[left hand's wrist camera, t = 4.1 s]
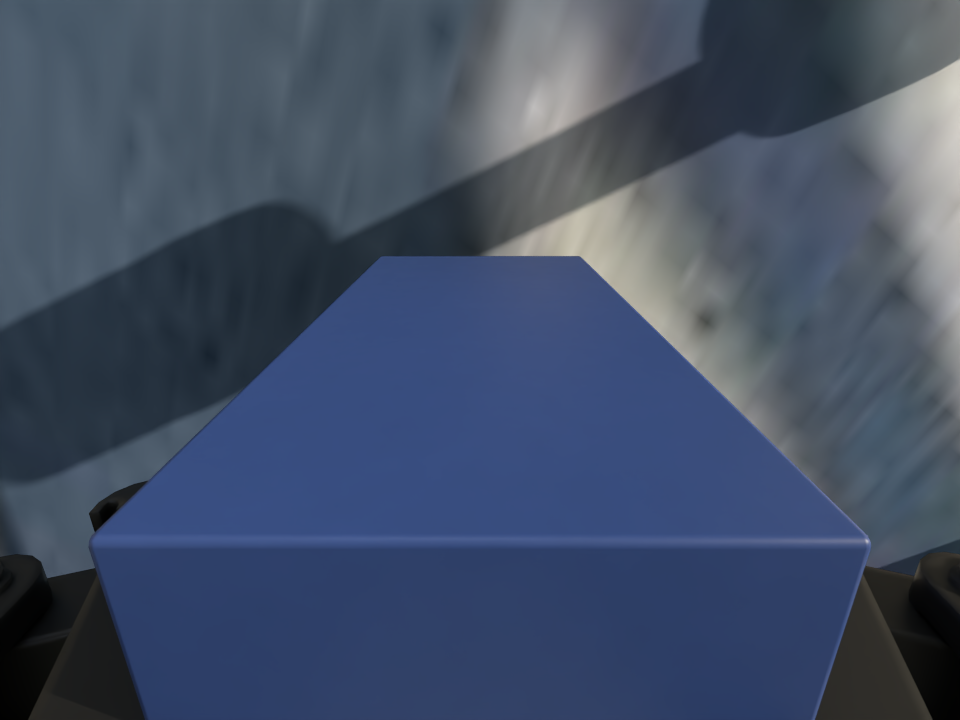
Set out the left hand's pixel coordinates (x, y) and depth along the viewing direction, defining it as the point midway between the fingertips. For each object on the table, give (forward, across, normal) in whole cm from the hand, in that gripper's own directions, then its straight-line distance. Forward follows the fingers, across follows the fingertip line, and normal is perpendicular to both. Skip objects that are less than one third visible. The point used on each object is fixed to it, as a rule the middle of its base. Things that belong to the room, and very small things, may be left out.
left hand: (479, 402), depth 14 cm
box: (+3, 0, -10) cm, 10 cm away
